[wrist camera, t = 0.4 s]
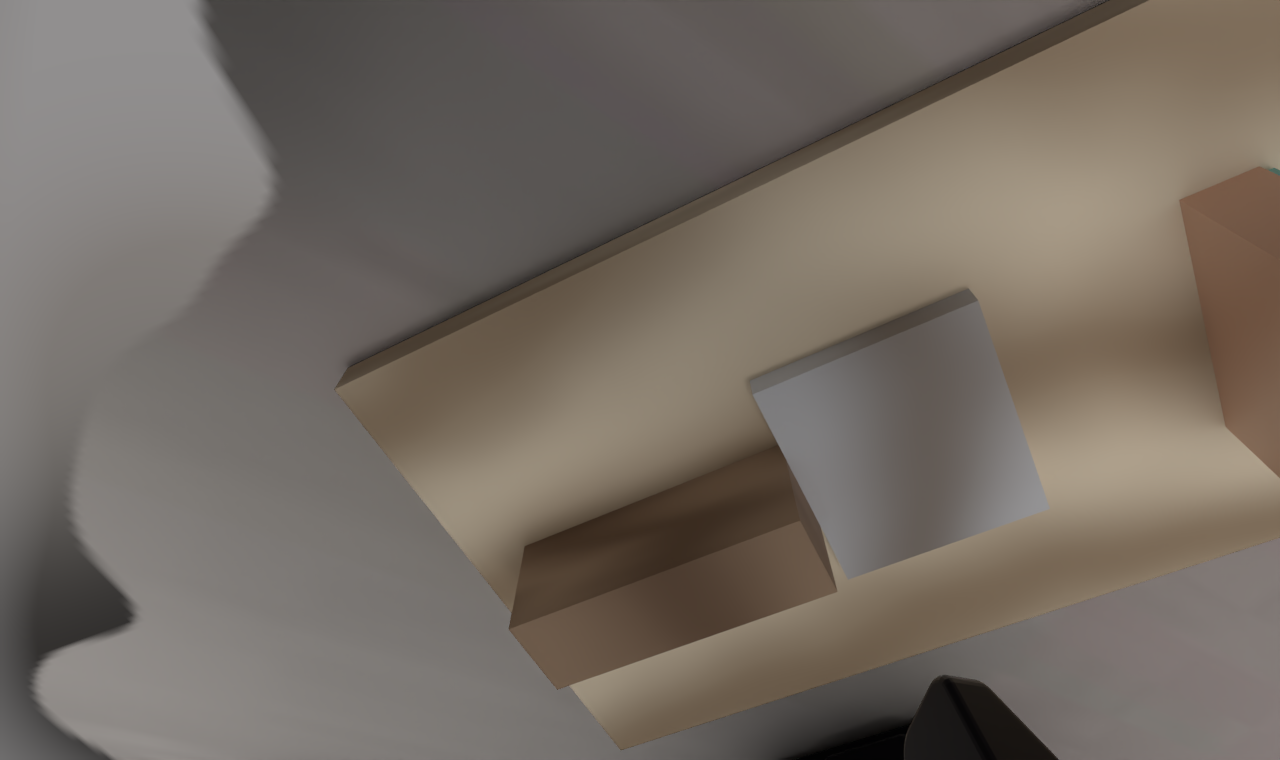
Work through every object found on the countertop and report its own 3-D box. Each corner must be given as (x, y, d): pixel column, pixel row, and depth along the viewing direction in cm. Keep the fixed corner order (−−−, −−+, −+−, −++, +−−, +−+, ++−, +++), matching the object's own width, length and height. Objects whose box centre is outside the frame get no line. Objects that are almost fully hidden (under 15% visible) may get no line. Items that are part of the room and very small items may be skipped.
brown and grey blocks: (601, 649, 24) (595, 737, 21) (484, 492, 21) (462, 572, 18) (1040, 493, 21) (1091, 573, 18) (968, 288, 18) (1018, 350, 16)
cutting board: (1692, 367, 20) (1740, 389, 19) (621, 722, 26) (620, 750, 26) (1768, -318, 14) (1842, -332, 13) (347, 368, 20) (334, 389, 19)
